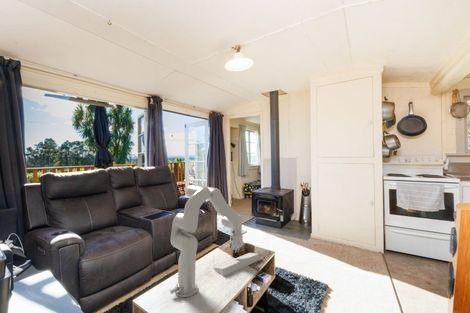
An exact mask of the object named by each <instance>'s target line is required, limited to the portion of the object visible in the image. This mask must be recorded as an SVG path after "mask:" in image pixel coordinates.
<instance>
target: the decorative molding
mask: <svg viewBox="0 0 470 313" xmlns="http://www.w3.org/2000/svg"><path fill="white" fill-rule="evenodd" d="M260 260H261V259H260V254H259V253H255V252H254V253H250V252H248V253H245V254H243V255H239V256H238V258H235V257H234V258H233V259H231V260H228V261H226V262H223V263H221V264H218V265H216V266H213V270H214V271H215V272H217V273H218V274H219V275H220V276H222V277H225V276H228V275H230V274H233V273H235V272H237V271H238V270H241V269H243V268H245V267H248V266H249V265H251V264H255V263H257V262H259V261H260ZM234 271H235V272H234Z"/></svg>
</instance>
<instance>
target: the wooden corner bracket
mask: <svg viewBox="0 0 470 313" xmlns="http://www.w3.org/2000/svg"><path fill="white" fill-rule="evenodd" d="M244 252H248V253H255V245H254V244H251V243H249V242H243V246H242V247H240V248H239V251H238V256H240V255H241V254H244ZM231 257H232V258H233V251H231Z"/></svg>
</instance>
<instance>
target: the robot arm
mask: <svg viewBox="0 0 470 313" xmlns="http://www.w3.org/2000/svg"><path fill="white" fill-rule="evenodd" d="M186 196H187V197H188V200H187V201H186V202H185V205H184V209H183V212H178V213H177V214H176V215H175V216H174V218H173V220H172V225H171V232H170V233H171V234H170V243H171V245H172V247H173V248H176V250H177V249H178V250H179V251H180V255H179V257H178V263H177V264H178V265H177V266H178V269H177V270H178V272H177V273H178V274H177V276H178V277H177V283H176V286H175V287H174V288H172V289H170V290H169V292H170V294H171V295H172V294H174V295H176V296H177V297H179V298H189V297H192V296H194V295H196V294H197V292H198V290H199V289H198V288H199V287H198V285H197V283H196V255H197V249H198V245H199V242H198V239H197V238H196V237H195V236H194V235H191V234H192V233H194V232H196V231H197V227H198V222H199V213H200V208H201V206H202V205H203V203H205V202H206V201H207V200H208V201H209V202H210V203H211V204H212V206H213V208H214V210H215V212H217V214H220V215H221V216H222V218H221V221H220V222H221V225H222V226H224V227H226V228H229V229H230V237H229V248H230V249H229V251H231V252H232V251H233V257H234V259H235V258H238V257H239V255H238V251H239V248H240V247H242V246H243V244H244V240H243V239H244V238H243V233H242V231H243V228H242V225H243V217H242V215H241V214H239V213H237V212H236V211H235V210H234V209H233V208H232V207H231V206H230V205H229V204H228V203H227V201H226V200H225V198H224V196H223V194H222V192H221V190H220V189H219V188H217V187H212V186H206V185H198V184H191V185H189V186H187V188H186ZM233 257H232V258H233Z"/></svg>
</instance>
